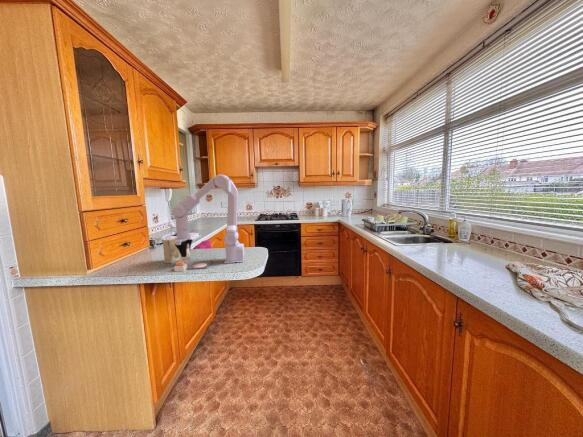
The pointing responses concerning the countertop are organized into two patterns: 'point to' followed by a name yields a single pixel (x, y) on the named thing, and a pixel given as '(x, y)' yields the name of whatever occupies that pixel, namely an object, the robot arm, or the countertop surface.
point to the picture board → (199, 265)
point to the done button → (180, 263)
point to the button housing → (180, 267)
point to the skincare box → (170, 250)
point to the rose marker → (187, 255)
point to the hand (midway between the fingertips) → (185, 255)
